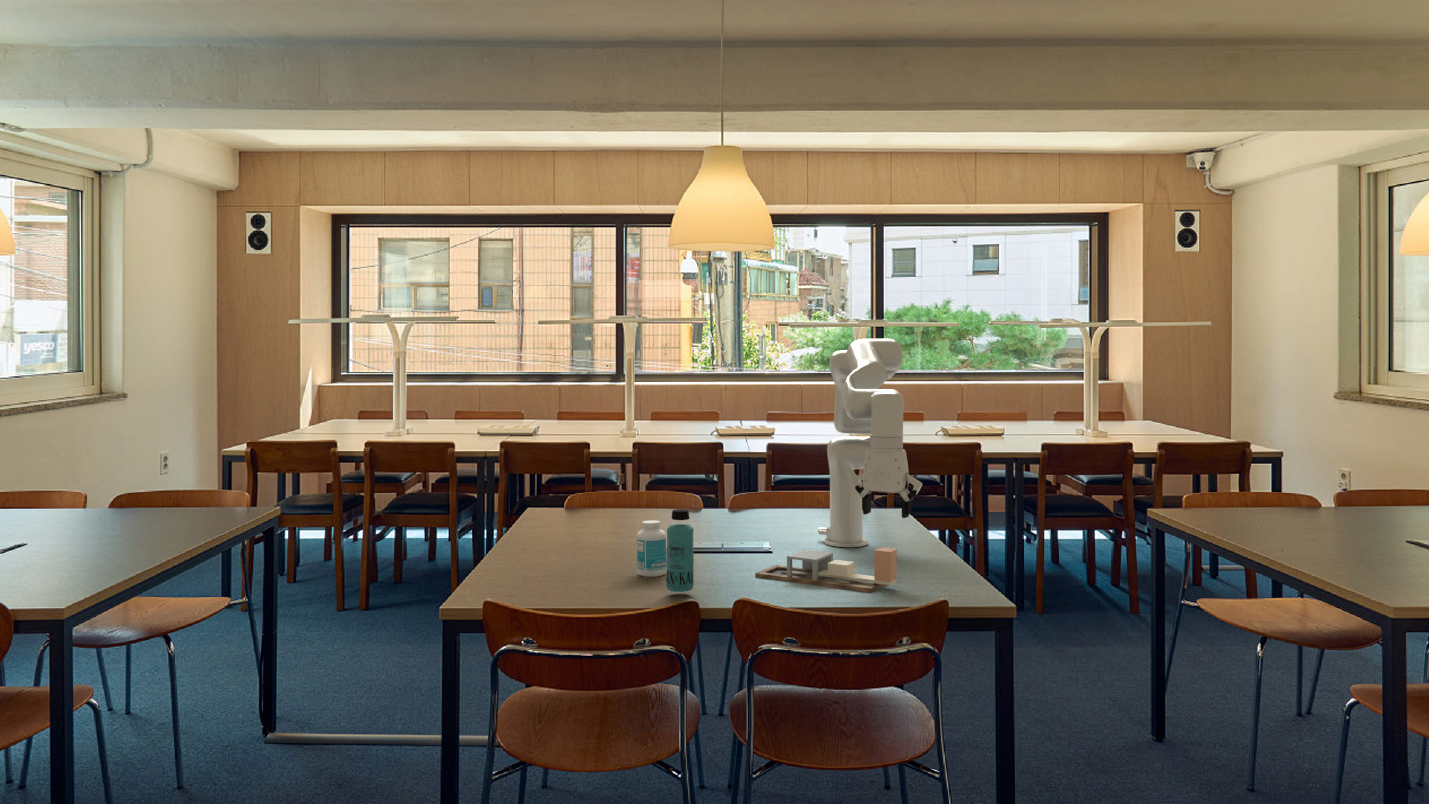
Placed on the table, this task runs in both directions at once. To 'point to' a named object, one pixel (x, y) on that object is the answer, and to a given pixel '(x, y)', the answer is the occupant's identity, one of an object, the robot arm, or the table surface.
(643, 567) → the pill bottle
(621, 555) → the table surface
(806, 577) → the rail board
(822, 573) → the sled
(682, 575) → the beverage bottle
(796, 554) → the bridge tunnel
